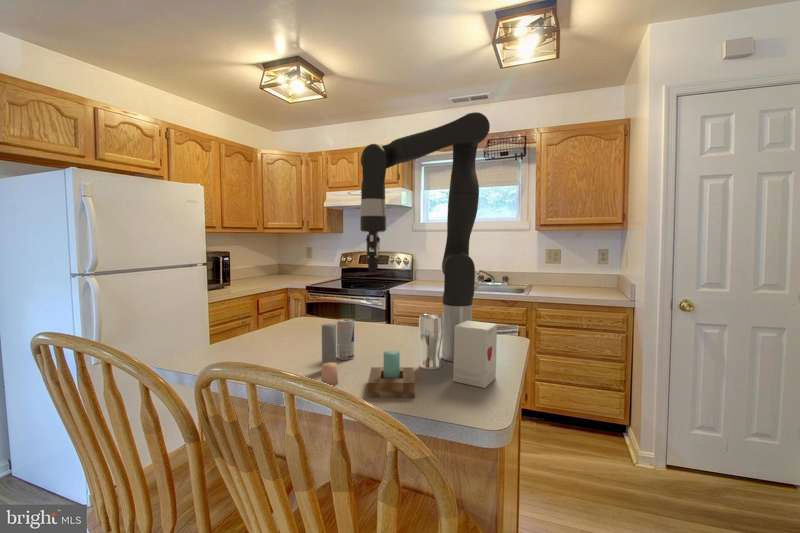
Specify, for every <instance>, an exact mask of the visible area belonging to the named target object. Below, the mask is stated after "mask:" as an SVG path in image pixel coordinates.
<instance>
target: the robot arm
mask: <svg viewBox="0 0 800 533" xmlns="http://www.w3.org/2000/svg"><path fill="white" fill-rule="evenodd" d="M490 125H491V124H490V120H489V119H488V117H487V116H486V115H485V114H484V113H481V112H479V111H471V112H469V113H468V112H467V113H466V114H464V115H463V116H461V117H459V118H457V119H455V120H453V121H450V122H448V123H445V124H443V125H440V126H438V127H434V128H431V129H427V130H423V131H420V132H417V133H413V134H410V135H406V136H402V137H398V138H396V139H394V140H392V141H391V142H390V143H387V144H384V145H379V144H377V143H371V144H368V145H366V146H365V147H364V149H363V151H362V153H361V156H360V165H361V167H362V181H361V188H360V189H361V190H360V198H361V199H360V200H361V201H360V213H359V215H360V218H359V219H360V222H359V223H360V224H359V226H360V227H359V228H360V231H361V232H365V233H368V234H367V235H366V238H365V243H366V255H367V257H366V258H367V259H368V260H367V268H368V272H376V271H377V270H378V268H379V267H378V266H379V263H378V262H379V261H378V260H379V255H380V245H381V238H380V236H379V234H378V233H380V232H381V233H382V232H383V233H384V232H386V230H387V204H386V172H387V169H389V168H391V167H392V168H393V167H394V166H396V165H399V164H404V163H407V162H411V161H415V160H417V159H420V158H422V157H425V156H428V155H430V154H433V153H435V152H437V151H440V150H442V149H445V148H448V147H451V146H452V167H451V168H452V169H451V174H450V183H449V192H448V194H449V195H448V200H447V220H446V221H447V222H446V224H447V227H446V240H445V241H446V242H445V247H444V253H443V258H442V264H441V270H442V274H443V275H444V282H443V283H444V286H443V294H442V313H441V314H442V315H441V316H442V328H443V331H442V341H441V358H442V359H443V360H444V361H446V362H447V361H448V362H451V363H452V362H453V363H454V326H456V325H458V324H460V323H463V322H465V321H467V320H468V321H473V299H474V296H475V284H476V282H475V281H476V268H475V262H474V260H473V259H472V258H471V257H470V240H471V239H470V238H471V235H472V231H473V228H474V225H475V222H476V218H477V214H478V208H479V207H478V206H479V200H480V199H479V197H480V184H479V180H478V176H477V171H476V158H477V150H478V146H479V144H480V143H481V142H483V141H484V140H485V139H486V137H487V136H488V135H489V133H490V127H491V126H490Z"/></svg>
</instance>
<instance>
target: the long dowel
mask: <svg viewBox="0 0 800 533" xmlns="http://www.w3.org/2000/svg"><path fill="white" fill-rule="evenodd" d="M328 362H334V363H337V324H335V323H324V324H322V325H321V365H322V364H324V363H328Z"/></svg>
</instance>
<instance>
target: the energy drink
mask: <svg viewBox="0 0 800 533" xmlns="http://www.w3.org/2000/svg"><path fill="white" fill-rule="evenodd" d="M354 358H355V322H354V319H353V318H340V319H337V322H336V359H338V360H339V361H350V360H353V359H354Z"/></svg>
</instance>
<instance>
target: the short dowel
mask: <svg viewBox="0 0 800 533" xmlns="http://www.w3.org/2000/svg"><path fill="white" fill-rule="evenodd" d="M338 369H339V364H338V363H337V362H336V363H334V362H328V363H324V364H322V363H321V383H322V382H324V383H327V384H329V385H333V386H332V387H335V386H337V385H338V384H339V380H338V379H339V376H338V375H339V373H338V372H339V371H338Z"/></svg>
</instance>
